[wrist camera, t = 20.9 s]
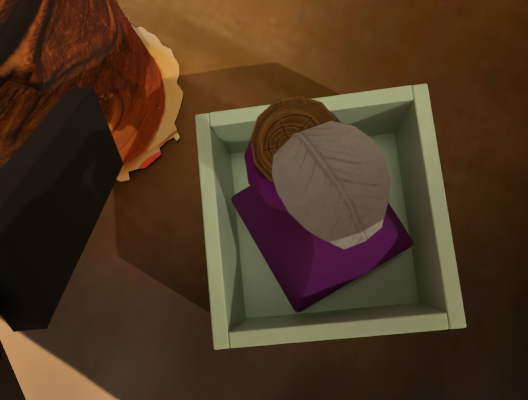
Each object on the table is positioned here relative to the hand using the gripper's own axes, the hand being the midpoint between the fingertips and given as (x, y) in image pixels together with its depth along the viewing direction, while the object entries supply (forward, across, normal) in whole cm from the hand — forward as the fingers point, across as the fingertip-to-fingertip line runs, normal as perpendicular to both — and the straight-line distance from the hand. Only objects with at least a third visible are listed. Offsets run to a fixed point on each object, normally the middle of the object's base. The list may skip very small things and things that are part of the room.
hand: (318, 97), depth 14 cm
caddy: (+10, 0, -14) cm, 17 cm away
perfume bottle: (+10, 0, -13) cm, 16 cm away
